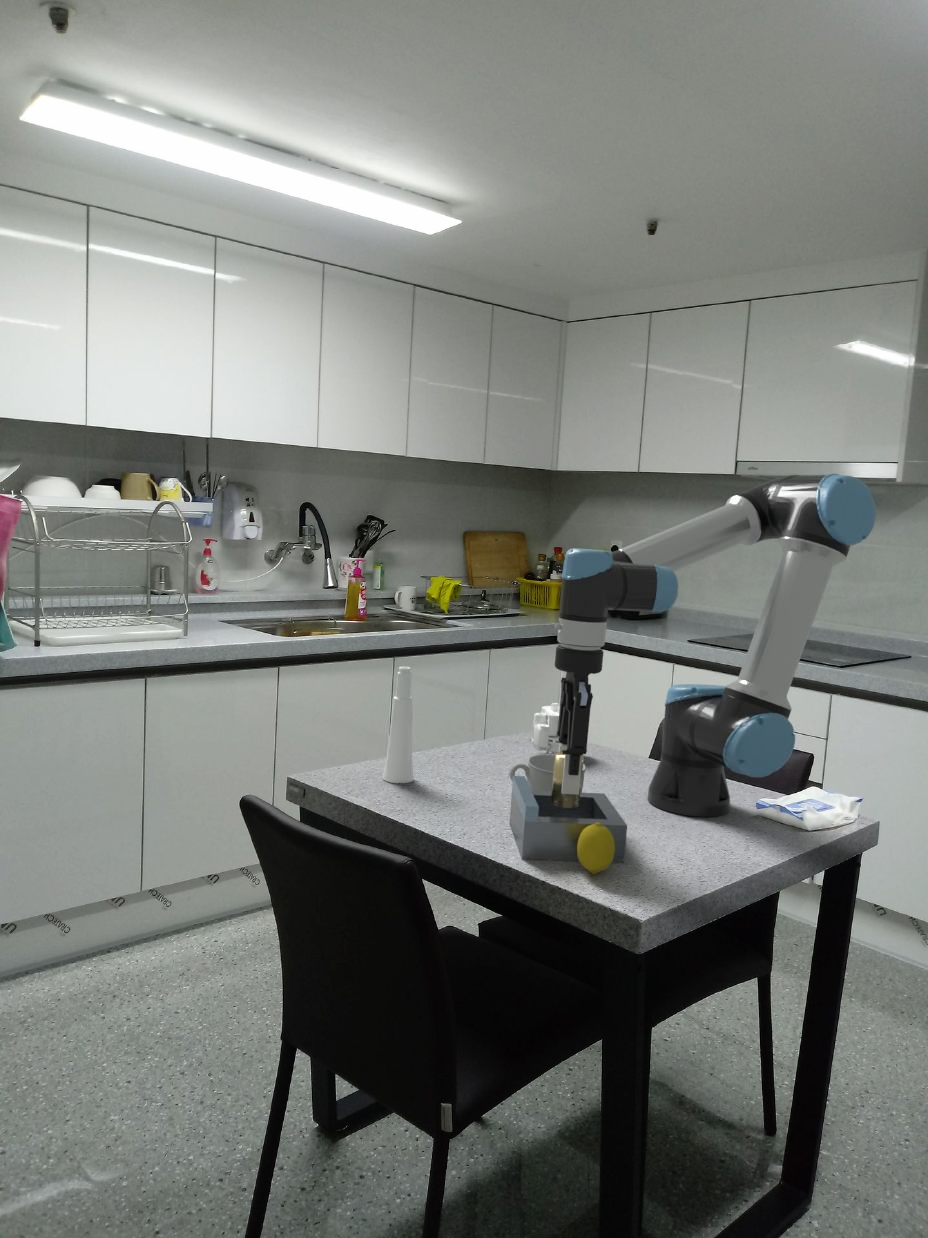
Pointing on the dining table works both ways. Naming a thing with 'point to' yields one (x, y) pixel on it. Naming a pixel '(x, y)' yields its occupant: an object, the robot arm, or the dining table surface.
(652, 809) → the dining table surface
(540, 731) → the mechanical part
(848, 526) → the robot arm
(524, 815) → the jig
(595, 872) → the lemon
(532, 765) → the teacup
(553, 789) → the brass cylinder
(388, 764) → the cosmetic bottle
